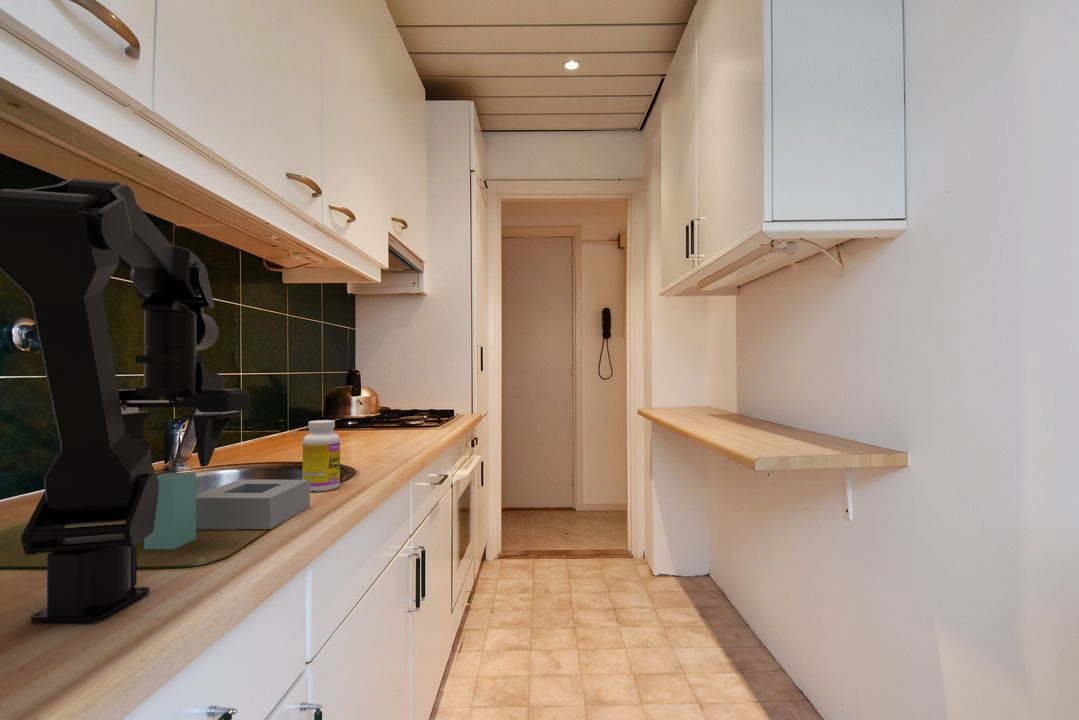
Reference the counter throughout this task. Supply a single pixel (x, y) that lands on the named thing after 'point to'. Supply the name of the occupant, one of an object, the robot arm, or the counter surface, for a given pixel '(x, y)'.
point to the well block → (251, 504)
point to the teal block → (174, 512)
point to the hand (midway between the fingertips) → (170, 465)
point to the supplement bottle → (321, 456)
